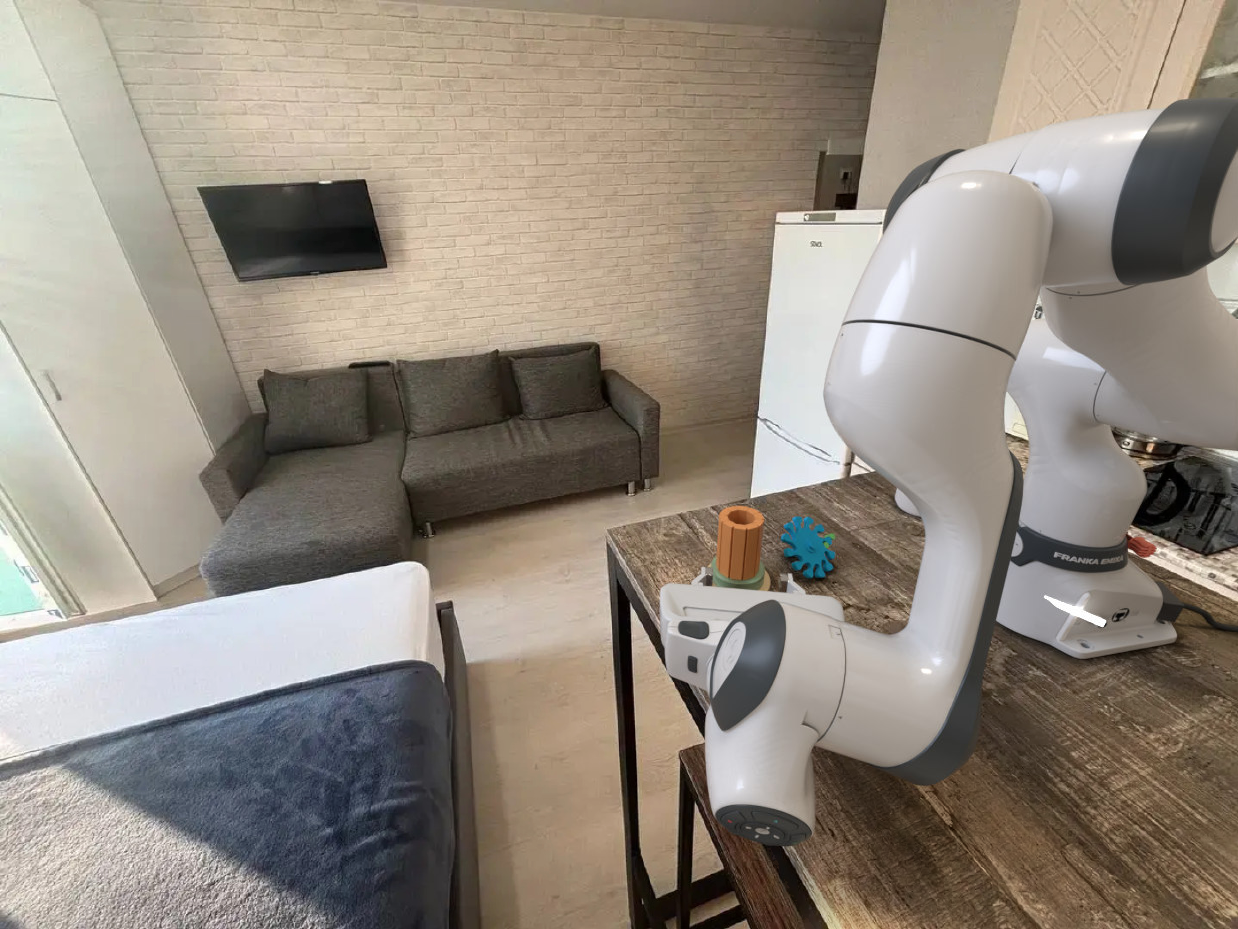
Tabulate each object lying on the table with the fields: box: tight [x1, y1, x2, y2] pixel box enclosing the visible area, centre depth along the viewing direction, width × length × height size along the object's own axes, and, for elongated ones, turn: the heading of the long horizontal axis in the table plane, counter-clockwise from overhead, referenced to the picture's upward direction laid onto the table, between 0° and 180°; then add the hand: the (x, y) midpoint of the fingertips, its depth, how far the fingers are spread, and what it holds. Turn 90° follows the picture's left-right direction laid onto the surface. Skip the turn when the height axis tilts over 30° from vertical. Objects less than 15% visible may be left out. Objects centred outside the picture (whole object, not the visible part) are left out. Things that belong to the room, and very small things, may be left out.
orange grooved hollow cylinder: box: [715, 505, 765, 580], centre depth 75 cm, size 6×6×9 cm
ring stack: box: [707, 555, 771, 591], centre depth 77 cm, size 10×10×10 cm
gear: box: [780, 515, 836, 580], centre depth 82 cm, size 11×6×10 cm
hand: (745, 574), depth 63 cm, fingers open, 8 cm apart
